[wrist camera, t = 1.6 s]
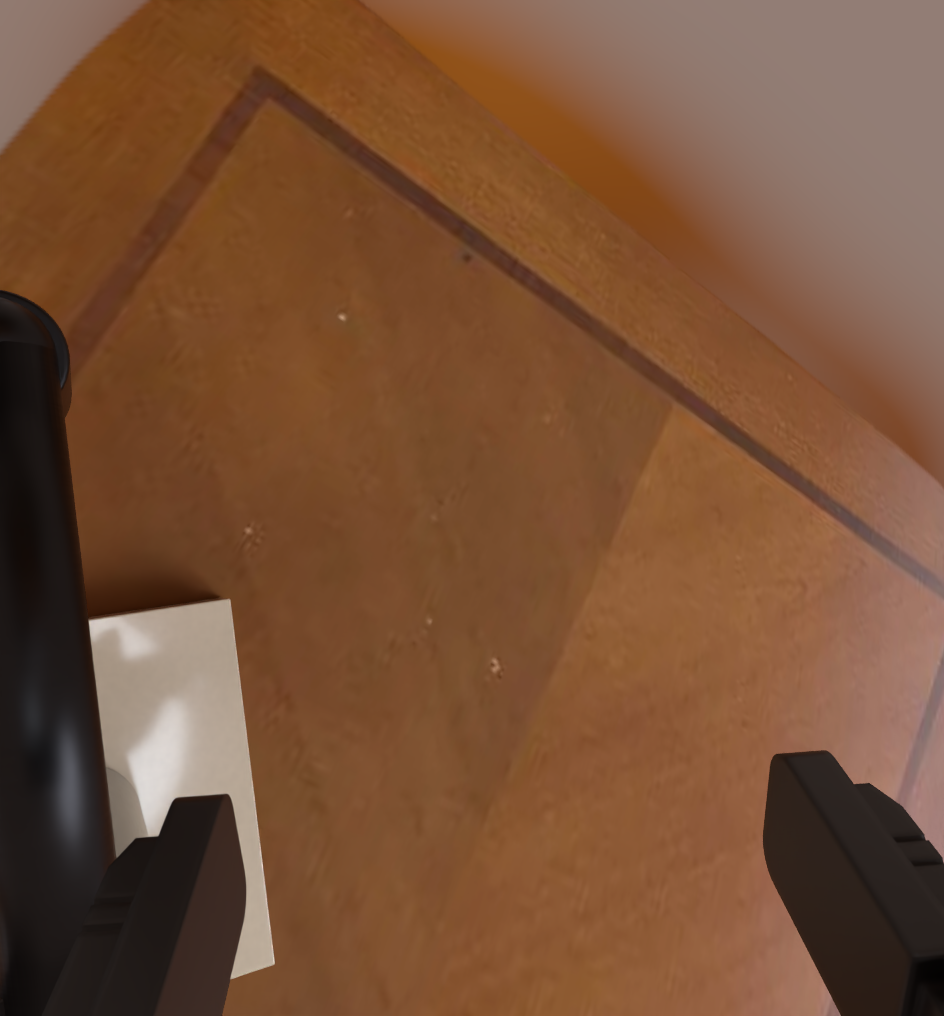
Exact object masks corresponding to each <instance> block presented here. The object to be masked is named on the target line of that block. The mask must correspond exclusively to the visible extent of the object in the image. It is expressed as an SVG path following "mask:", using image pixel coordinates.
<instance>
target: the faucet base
mask: <svg viewBox="0 0 944 1016" xmlns="http://www.w3.org/2000/svg"><path fill="white" fill-rule="evenodd" d="M88 620H89V628H90V637H91V645H92V654H93V662H94V671H95V679H96V687H97V696H98V704H99V713H100V721H101V730H102V738H103V746H104V755H105V763H106V772H107V780H108V789H109V797H110V806H111V814H112V822H113V831H114V839H115V848H116V856H117V857H118V856H119V855H120V854H121V853H122V852H123V851H124V850H125V849H126V848H127V847H128V846H129V845H130V844H131V842H132V841H133V840H134V839H135V838H141V837H154V836H158V835H159V833H160V830H161V828H162V825H163V823H164V820H165V818H166V815H167V813H168V810H169V808H170V805H171V803H172V801H173V800H174V799H175V798H177V797H189V796H202V795H215V794H228V795H229V796H230V798H231V800H232V804H233V808H234V814H235V819H236V825H237V831H238V836H239V842H240V847H241V853H242V858H243V864H244V869H245V876H246V909H245V917H244V923H243V927H242V931H241V936H240V940H239V944H238V948H237V953H236V957H235V961H234V966H233V970H232V974H231V978H230V979H233V978H236V977H239V976H242V975H245V974H248V973H251V972H254V971H256V970H259V969H262V968H265V967H268V966H271V965H274V964H275V960H274V952H273V944H272V936H271V928H270V919H269V911H268V903H267V895H266V887H265V878H264V870H263V862H262V854H261V846H260V838H259V829H258V821H257V813H256V805H255V797H254V789H253V780H252V772H251V764H250V756H249V748H248V740H247V731H246V723H245V715H244V707H243V699H242V691H241V682H240V674H239V666H238V658H237V650H236V642H235V633H234V625H233V617H232V609H231V601H230V599H228V598H215V599H208V600H201V601H195V602H188V603H181V604H174V605H168V606H161V607H154V608H147V609H141V610H134V611H127V612H120V613H114V614H107V615H100V616H93V617H88Z"/></svg>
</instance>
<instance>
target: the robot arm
mask: <svg viewBox="0 0 944 1016" xmlns="http://www.w3.org/2000/svg"><path fill="white" fill-rule="evenodd" d="M763 847H764V855H765V860H766V864H767V868H768V871H769V874H770V876H771V879H772V881H773V883H774V885H775V887H776V889H777V891H778V893H779V895H780V897H781V899H782V901H783V903H784V905H785V907H786V909H787V911H788V912H789V914H790V916H791V918H792V920H793V922H794V924H795V926H796V928H797V930H798V932H799V934H800V936H801V938H802V940H803V942H804V944H805V946H806V948H807V950H808V952H809V954H810V956H811V958H812V960H813V961H814V963H815V965H816V967H817V969H818V971H819V973H820V975H821V977H822V979H823V981H824V983H825V985H826V987H827V989H828V991H829V993H830V995H831V997H832V999H833V1001H834V1003H835V1005H836V1007H837V1009H838V1010H839V1012H840V1014H841V1016H944V863H943V858H942V857H941V855H940V854H939V853H938V852H937V850H936V849H935V848H934V846H933V845H932V844H931V843H930V841H929V840H927V841H926V840H925V837H924V834H923V832H922V831H921V830H920V828H919V827H918V826H917V825H916V823H915V822H914V821H913V819H912V818H911V817H910V816H909V814H908V813H907V812H906V810H905V809H904V808H903V807H902V806H901V805H900V804H898V803H897V802H895V801H894V800H893V799H891V798H890V797H888V796H887V795H885V794H884V793H883V792H881V791H880V790H878V789H877V788H876V787H874V786H873V785H871V784H870V783H865V784H853V782H852V781H851V780H850V778H849V777H848V775H847V774H846V773H845V771H844V770H843V769H842V767H841V766H840V764H839V763H838V762H837V760H836V759H835V758H834V756H833V755H832V754H831V753H830V752H828V751H825V750H822V751H809V752H795V753H782V754H776V755H774V756H773V758H772V760H771V764H770V772H769V782H768V791H767V801H766V811H765V820H764V830H763ZM245 909H246V876H245V869H244V864H243V858H242V853H241V847H240V842H239V836H238V831H237V825H236V819H235V814H234V808H233V804H232V800H231V798H230V796H229V795H228V794H215V795H202V796H189V797H177V798H175V799H174V800H173V801H172V803H171V805H170V808H169V810H168V813H167V815H166V818H165V820H164V823H163V825H162V828H161V830H160V833H159V835H158V836H154V837H141V838H135V839H134V840H133V841H132V842H131V844H130V845H129V846H128V847H127V848H126V849H125V850H124V851H123V852H122V853H121V854H120V855H119V856H118V857H117V858H116V859H115V860H114V861H113V863H112V864H111V865H110V866H109V867H108V869H107V871H106V873H105V876H104V878H103V880H102V882H101V884H100V887H99V889H98V891H97V893H96V896H95V898H94V905H91V907H90V909H89V911H88V913H87V916H86V918H85V920H84V922H83V924H82V932H81V933H78V936H77V938H76V940H75V942H74V944H73V947H72V949H71V951H70V953H69V956H68V958H67V960H66V962H65V964H64V967H63V969H62V971H61V973H60V976H59V978H58V980H57V982H56V984H55V987H54V989H53V991H52V993H51V996H50V998H49V1000H48V1002H47V1004H46V1007H45V1009H44V1011H43V1013H42V1016H222V1013H223V1008H224V1004H225V1000H226V996H227V991H228V987H229V983H230V978H231V974H232V970H233V966H234V961H235V957H236V953H237V948H238V944H239V940H240V936H241V931H242V927H243V923H244V917H245Z"/></svg>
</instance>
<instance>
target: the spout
mask: <svg viewBox="0 0 944 1016" xmlns="http://www.w3.org/2000/svg"><path fill="white" fill-rule="evenodd" d="M71 397H72V389H71V372H70V355H69V350H68V345H67V342H66V339H65V337H64V335H63V333H62V331H61V329H60V328H59V326H58V325H57V323H56V322H55V321H54V320H53V318H52V317H51V316H50V315H49V314H48V313H47V312H46V311H45V310H43V309H42V308H41V307H39V306H38V305H37V304H35V303H34V302H32V301H30V300H28V299H26V298H24V297H22V296H20V295H17V294H14V293H11V292H7V291H3V290H0V1016H42V1013H43V1011H44V1009H45V1007H46V1004H47V1002H48V1000H49V998H50V996H51V993H52V991H53V989H54V987H55V984H56V982H57V980H58V978H59V976H60V973H61V971H62V969H63V967H64V964H65V962H66V960H67V958H68V956H69V953H70V951H71V949H72V947H73V944H74V942H75V940H76V938H77V936H78V933H81V932H82V924H83V922H84V920H85V918H86V916H87V913H88V911H89V909H90V907H91V905H94V898H95V896H96V893H97V891H98V889H99V887H100V884H101V882H102V880H103V878H104V876H105V873H106V871H107V869H108V867H109V866H110V865H111V864H112V863H113V861H114V860H115V859H116V858H117V856H116V848H115V839H114V831H113V822H112V814H111V806H110V797H109V789H108V780H107V772H106V763H105V755H104V746H103V738H102V730H101V721H100V713H99V704H98V696H97V687H96V679H95V671H94V662H93V654H92V645H91V637H90V628H89V620H88V611H87V603H86V595H85V586H84V578H83V569H82V561H81V552H80V544H79V535H78V527H77V519H76V510H75V502H74V493H73V485H72V476H71V468H70V460H69V451H68V443H67V434H66V426H65V417H66V415H67V413H68V411H69V408H70V404H71Z"/></svg>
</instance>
